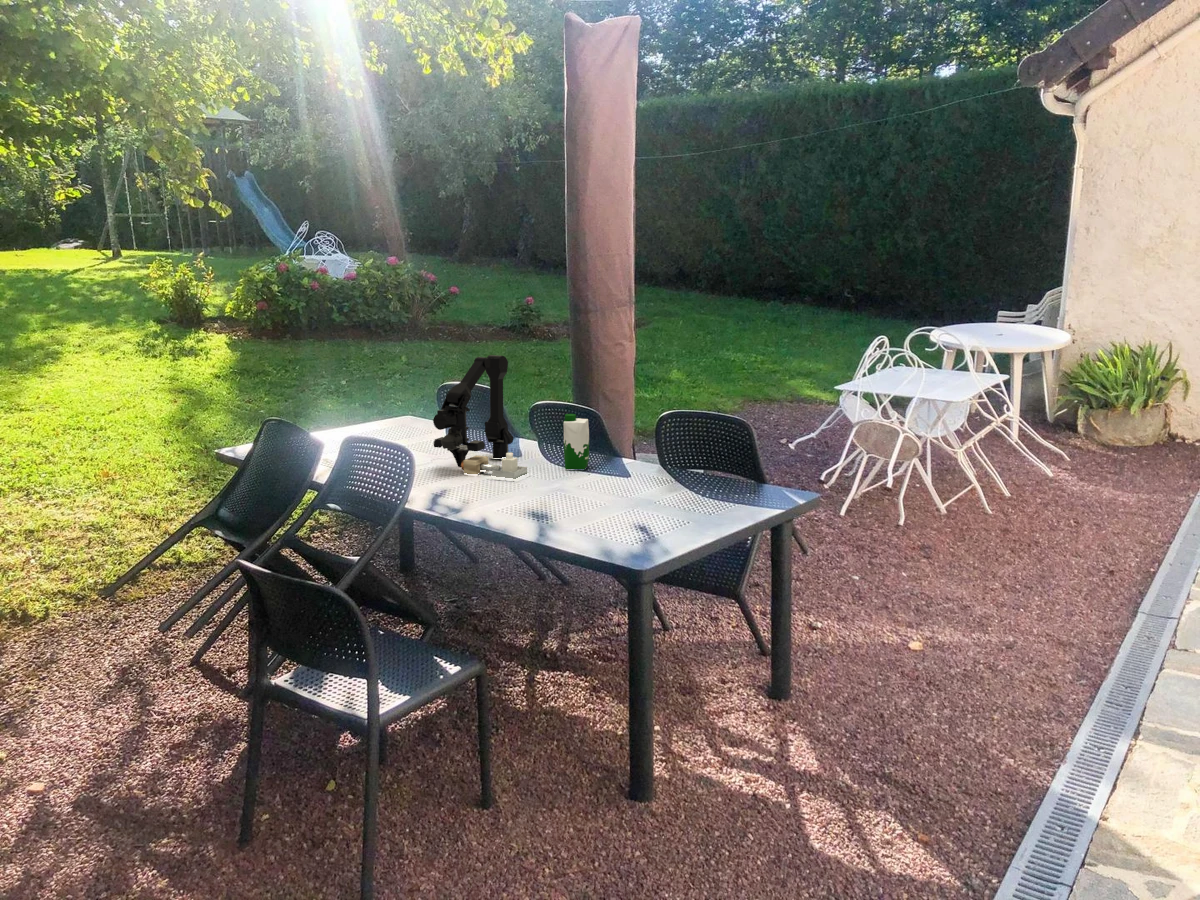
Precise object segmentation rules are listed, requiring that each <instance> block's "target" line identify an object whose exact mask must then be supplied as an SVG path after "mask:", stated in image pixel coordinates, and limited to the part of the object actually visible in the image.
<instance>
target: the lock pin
mask: <svg viewBox="0 0 1200 900" xmlns="http://www.w3.org/2000/svg"><path fill="white" fill-rule="evenodd" d="M466 459H467V458H465V459H464V460H466ZM501 466H502V465H496V464H489V463H488V464H480V470H486V471H488V472H492V470H494V469H496V468H497V469H499V470H501ZM460 469H461V471H463V472H464V463H463V461H462V463H461V467H460Z"/></svg>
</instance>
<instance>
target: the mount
mask: <svg viewBox="0 0 1200 900" xmlns="http://www.w3.org/2000/svg"><path fill="white" fill-rule="evenodd" d="M465 459H466V460H463V463H464V471H463V474H464V473H467V474H478V473H480V474H481V472H480V464H488V465H489V456H487V455H486V456H484V455H473V456H471V457H469V458H465Z"/></svg>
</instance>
